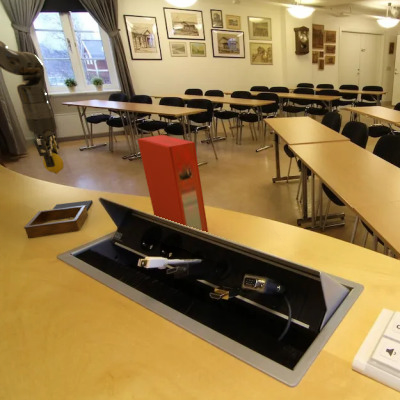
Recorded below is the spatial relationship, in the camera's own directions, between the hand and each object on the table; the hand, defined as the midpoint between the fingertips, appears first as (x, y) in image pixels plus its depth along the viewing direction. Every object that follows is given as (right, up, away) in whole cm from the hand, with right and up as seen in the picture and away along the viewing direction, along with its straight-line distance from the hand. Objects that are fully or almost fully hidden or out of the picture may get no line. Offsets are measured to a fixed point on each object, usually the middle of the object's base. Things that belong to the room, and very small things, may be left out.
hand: (53, 164), depth 115 cm
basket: (+5, -22, -3) cm, 22 cm away
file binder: (+51, -25, -10) cm, 58 cm away
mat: (-1, -16, +10) cm, 19 cm away
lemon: (0, -3, +1) cm, 4 cm away
